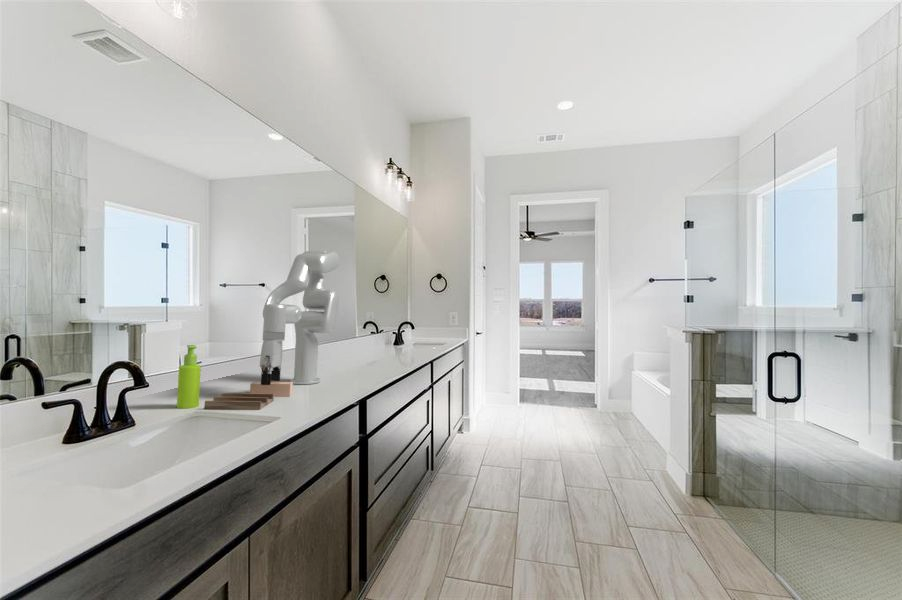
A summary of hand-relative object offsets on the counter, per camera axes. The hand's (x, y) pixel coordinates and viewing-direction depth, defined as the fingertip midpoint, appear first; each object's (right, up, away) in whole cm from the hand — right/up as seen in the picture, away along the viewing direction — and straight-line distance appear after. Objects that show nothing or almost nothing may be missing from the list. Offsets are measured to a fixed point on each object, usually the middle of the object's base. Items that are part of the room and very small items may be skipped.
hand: (270, 382), depth 142 cm
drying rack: (-4, -4, -14) cm, 15 cm away
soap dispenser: (-18, -4, -18) cm, 26 cm away
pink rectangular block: (0, -5, +1) cm, 5 cm away
